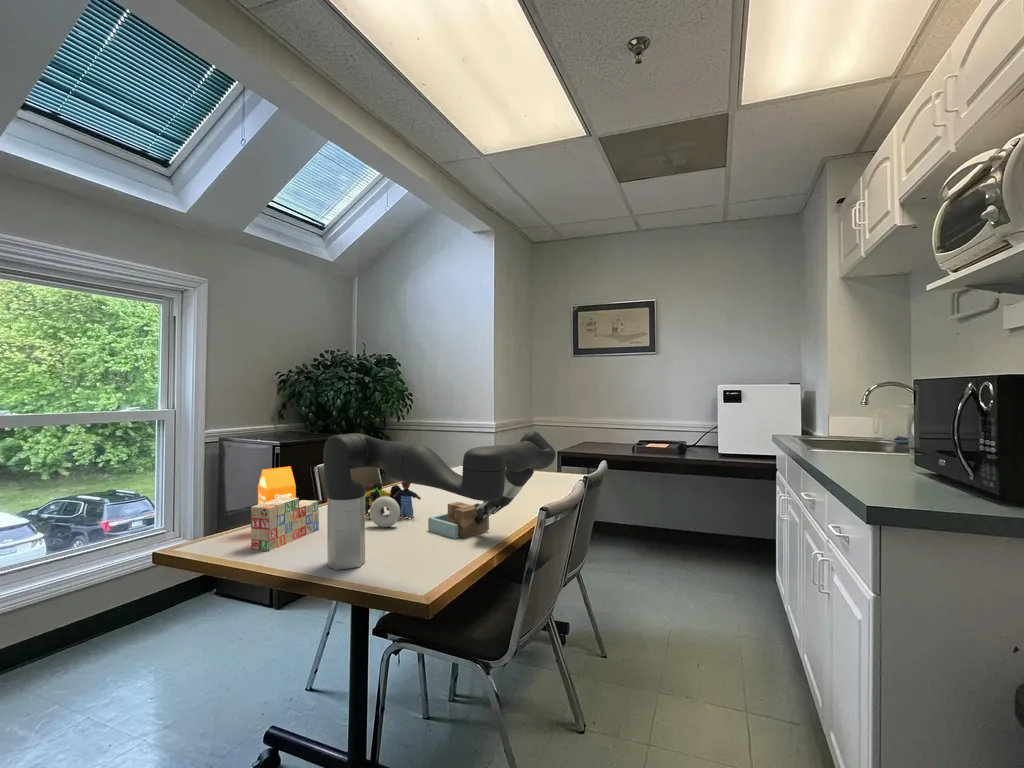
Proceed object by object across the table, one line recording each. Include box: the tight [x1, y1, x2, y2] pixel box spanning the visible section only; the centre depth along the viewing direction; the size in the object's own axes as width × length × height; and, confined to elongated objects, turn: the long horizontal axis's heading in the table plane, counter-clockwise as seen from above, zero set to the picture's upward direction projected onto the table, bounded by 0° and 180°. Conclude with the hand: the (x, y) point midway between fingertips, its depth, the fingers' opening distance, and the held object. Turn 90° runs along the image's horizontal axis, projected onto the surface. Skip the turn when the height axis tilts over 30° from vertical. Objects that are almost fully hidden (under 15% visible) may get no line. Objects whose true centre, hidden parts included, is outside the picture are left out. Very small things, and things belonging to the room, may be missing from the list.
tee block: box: [447, 501, 489, 539], centre depth 154 cm, size 11×10×8 cm
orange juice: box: [257, 465, 297, 505], centre depth 154 cm, size 8×9×20 cm
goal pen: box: [427, 512, 490, 540], centre depth 155 cm, size 13×14×4 cm
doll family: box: [365, 481, 422, 519], centre depth 171 cm, size 23×9×13 cm, turn 91°
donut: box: [369, 496, 401, 528], centre depth 158 cm, size 10×4×10 cm, turn 84°
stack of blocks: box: [250, 497, 320, 552], centre depth 146 cm, size 21×6×12 cm, turn 164°
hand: (477, 521), depth 150 cm, fingers closed
